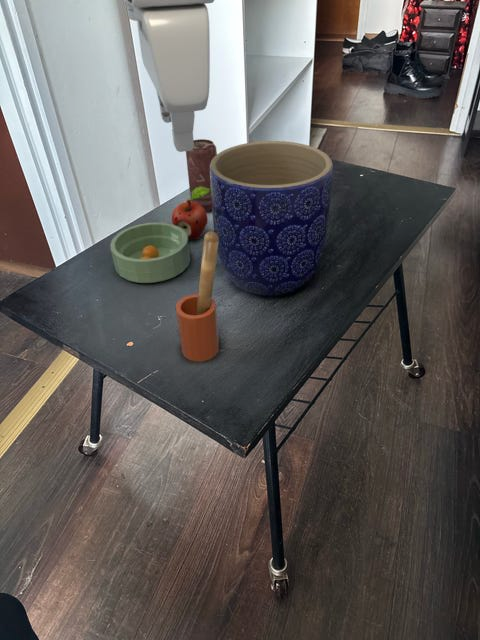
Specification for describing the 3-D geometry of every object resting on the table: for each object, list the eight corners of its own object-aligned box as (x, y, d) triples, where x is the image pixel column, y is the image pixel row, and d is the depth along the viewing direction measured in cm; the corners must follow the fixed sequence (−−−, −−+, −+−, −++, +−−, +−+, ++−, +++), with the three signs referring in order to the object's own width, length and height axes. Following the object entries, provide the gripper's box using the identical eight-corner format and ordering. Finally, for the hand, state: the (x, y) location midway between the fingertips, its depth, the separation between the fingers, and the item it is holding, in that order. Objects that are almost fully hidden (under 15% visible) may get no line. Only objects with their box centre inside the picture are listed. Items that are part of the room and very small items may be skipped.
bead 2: (140, 276, 85) (138, 272, 82) (137, 260, 85) (135, 255, 82) (157, 273, 85) (155, 269, 82) (154, 257, 86) (152, 252, 83)
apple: (187, 249, 91) (181, 201, 85) (168, 236, 96) (161, 189, 89) (219, 236, 95) (215, 188, 89) (199, 224, 99) (194, 177, 93)
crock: (185, 365, 67) (179, 321, 62) (179, 340, 71) (173, 297, 66) (222, 357, 68) (219, 314, 63) (214, 333, 72) (210, 291, 67)
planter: (339, 266, 85) (353, 152, 72) (291, 322, 74) (297, 198, 60) (252, 240, 93) (250, 133, 80) (196, 287, 82) (183, 171, 68)
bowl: (118, 291, 81) (112, 267, 78) (114, 251, 92) (108, 228, 88) (196, 278, 84) (193, 253, 81) (183, 240, 94) (180, 217, 91)
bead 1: (157, 260, 89) (152, 267, 86) (143, 253, 89) (137, 259, 86) (163, 247, 87) (157, 253, 85) (148, 240, 87) (142, 245, 85)
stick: (194, 350, 68) (206, 235, 57) (192, 342, 70) (203, 228, 58) (206, 349, 69) (220, 236, 57) (204, 341, 70) (218, 228, 58)
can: (219, 213, 103) (215, 148, 94) (190, 213, 103) (183, 148, 94) (221, 200, 107) (217, 137, 99) (193, 201, 108) (186, 138, 99)
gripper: (114, -34, 48) (137, 109, 57) (131, -19, 33) (158, 173, 42) (176, -37, 50) (189, 104, 58) (219, -24, 34) (228, 164, 43)
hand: (176, 133), depth 50 cm, fingers open, 8 cm apart
